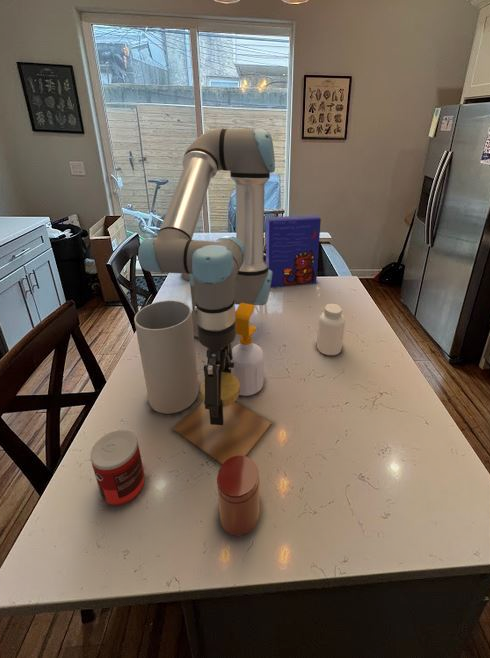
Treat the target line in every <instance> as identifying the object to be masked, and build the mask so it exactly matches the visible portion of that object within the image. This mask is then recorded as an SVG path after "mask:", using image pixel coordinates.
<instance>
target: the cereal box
mask: <svg viewBox="0 0 490 658" xmlns="http://www.w3.org/2000/svg"><path fill="white" fill-rule="evenodd" d="M321 222H322V219H321V217H320V216H318V215H317V214H311V215H310V214H309V215H288V216H266V217H265V262H266V263H267V264H268V270H271V271H272V272H273V273H272V280H271V286H270V289H272V288H281V287H291V286H302V285H311V284H312V285H313V284H317V277H318V266H319V265H318V263H319V250H320V237H321V224H322V223H321Z"/></svg>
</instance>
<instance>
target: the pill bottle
mask: <svg viewBox="0 0 490 658" xmlns="http://www.w3.org/2000/svg"><path fill="white" fill-rule="evenodd" d="M318 317H319V318H318V328H317V337H316V338H317V339H316V348H317V350H318V351H319V352H320V353H321V354H324V355H327V356H336V355H338V354H340V353H341V352H342V350H343V349H342V348H343V341H344V335H345V328H346V327H345V326H346V318H345V315H344V314H343V308H342V306H341V305H339V304H337V303H328V304H325V306H324V310H323V312H321V314H320V315H319V316H318Z"/></svg>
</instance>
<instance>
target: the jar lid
mask: <svg viewBox="0 0 490 658" xmlns="http://www.w3.org/2000/svg"><path fill="white" fill-rule="evenodd" d="M199 392H200V393H199V395H200V399H201V401H202V402H204V401H205V378H204V379H203V380H202V382H201V384H200V386H199ZM239 393H240V383H239V380H238V378H237V377H236V376H235V375H233V374H231V373H228V372H222V385H221V399H222V403H223V407H226V406H229V405H231V404H232V403H234V402H236V401H237V400H238V398H239V396H240V395H239Z"/></svg>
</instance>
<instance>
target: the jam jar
mask: <svg viewBox="0 0 490 658" xmlns="http://www.w3.org/2000/svg"><path fill="white" fill-rule="evenodd" d="M216 485H217V497H218V509H219V521H220V524H221V527H222V528H223V530H224V532H226V533H228V534H229V535H231V536H233V537H241V536H244V535H247V534H248V533H250V532H252V531H253V529H254V528H255V526H256V525H257V523H258V521H259V517H260V477H259V468H258V465H257V464H256V462H255V461H254V460H253V459H252V458H250V457H249V456H234V457H231V458H229V459H228V460H226V461H225V462H224V463H223V464H222V465H220V467H219V469H218V471H217V476H216Z"/></svg>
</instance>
